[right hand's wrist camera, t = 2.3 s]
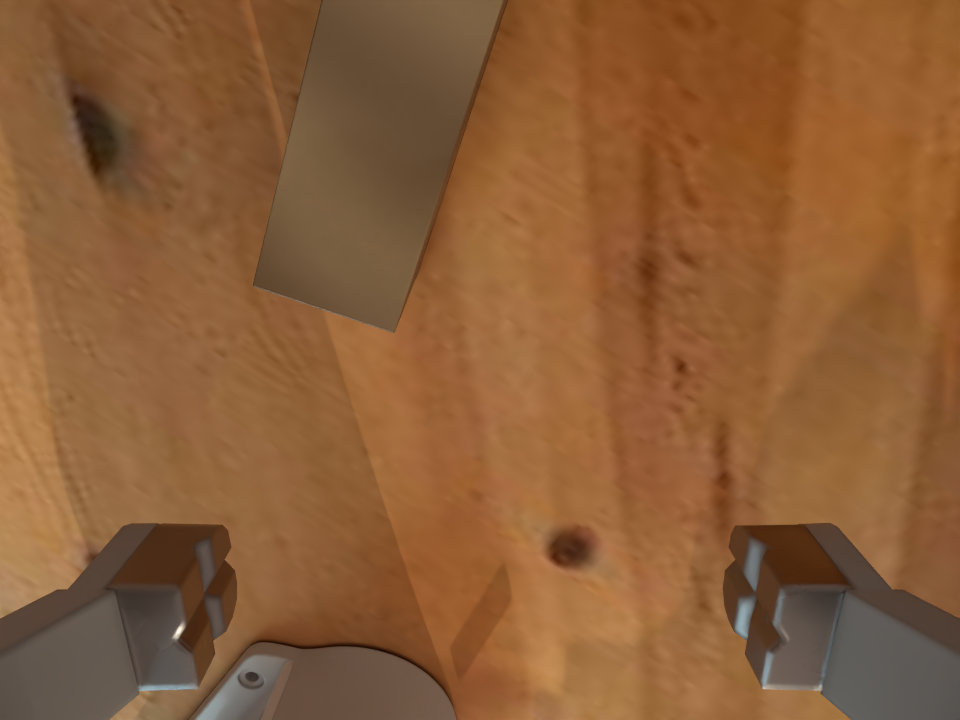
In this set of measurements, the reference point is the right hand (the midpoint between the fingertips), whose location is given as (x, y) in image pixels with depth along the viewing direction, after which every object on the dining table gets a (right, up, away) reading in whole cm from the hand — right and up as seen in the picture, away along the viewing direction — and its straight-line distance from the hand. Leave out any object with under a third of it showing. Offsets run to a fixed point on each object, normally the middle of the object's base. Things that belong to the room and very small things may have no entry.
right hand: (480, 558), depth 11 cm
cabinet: (-3, +16, +20) cm, 26 cm away
